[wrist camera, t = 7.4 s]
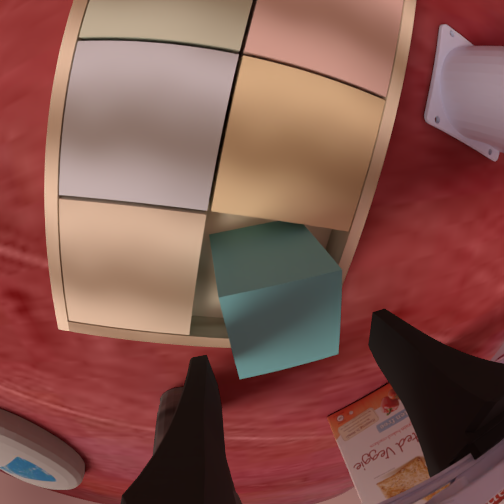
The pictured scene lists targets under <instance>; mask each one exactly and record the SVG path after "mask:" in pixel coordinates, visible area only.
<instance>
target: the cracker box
mask: <svg viewBox="0 0 504 504" xmlns="http://www.w3.org/2000/svg"><path fill="white" fill-rule="evenodd" d="M327 419H328V421H329V424H330V426H331V429H332V431H333V434H334V437H335V439H336V442H337V444H338V446H339V449H340V451H341V454H342V456H343V458H344V461H345V463H346V466H347V468H348V471H349V473H350V476H351V478H352V481H353V483H354V486H355V488H356V491H357V493H358V496H359V498H360V501H361V503H362V504H377V503H380V502H382V501H384V500H387V499H389V498H391V497H393V496H396V495H398V494H400V493H402V492H404V491H406V490H408V489H410V488H412V487H414V486H416V485H418V484H420V483H422V482H423V481H425V480H427V479H429V478H430V476H429V473H428V469H427V465H426V462H425V459H424V455H423V452H422V449H421V446H420V443H419V441H418V438H417V435H416V433H415V430H414V428H413V426H412V423H411V421H410V419H409V416H408V414H407V412H406V410H405V408H404V406H403V404H402V402H401V400H400V399H399V397H398V396H397V394H396V392H395V391H394V389H393V388H392V386H391V385H390V383H388V384H387V385H385V386H383V387H382V388H380V389H378V390H377V391H375V392H373V393H371V394H370V395H368V396H366V397H364V398H362V399H361V400H359V401H357V402H355V403H353V404H351V405H349V406H347V407H346V408H344V409H342V410H340V411H338V412H336V413H334V414H332V415H330V416H328V417H327ZM450 483H451V482H450ZM450 483H449V484H450ZM449 484H447V485H446V486H444V487H442V488H441V489H439V490H437V491H435V492H434V493H432V494H430V495H428V496H426V497H425V498H423V499H421V500H419V501H417V502H415V503H413V504H424V503H426V502H427V501H428V500H430V499H431V498H432V497H433V496H434V495H435V494H437V493H439V492H440V491H442V490H443V489H445V488H446V487H448V486H449ZM486 504H504V489H503V490H501V491H500V492H499V493H498V494H497V495H496V496H494V497H493V498H492V499H491V500H490V501H488V502H487V503H486Z"/></svg>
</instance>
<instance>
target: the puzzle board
mask: <svg viewBox="0 0 504 504" xmlns="http://www.w3.org/2000/svg"><path fill="white" fill-rule="evenodd" d="M415 7H416V0H74V1H73V4H72V7H71V11H70V14H69V17H68V21H67V24H66V28H65V32H64V36H63V39H62V44H61V48H60V52H59V57H58V61H57V66H56V71H55V77H54V82H53V89H52V95H51V102H50V110H49V118H48V128H47V139H46V154H45V188H44V194H45V228H46V243H47V255H48V265H49V273H50V281H51V289H52V295H53V302H54V308H55V313H56V319H57V324H58V329H60V330H66V331H72V332H78V333H84V334H90V335H97V336H104V337H111V338H119V339H127V340H136V341H145V342H154V343H165V344H176V345H189V346H204V347H222V348H231V345H230V341H229V337H228V333H227V330H226V326H225V322H224V318H223V314H222V310H221V306H220V302H219V297H218V291H217V285H216V278H215V272H214V265H213V258H212V251H211V245H210V237H209V234H214V233H219V232H224V231H229V230H233V229H238V228H243V227H248V226H253V225H259V224H264V223H269V222H274V221H284V222H291V223H297V224H304V225H305V227H306V228H307V229H308V230H309V231H310V232H311V233H312V235H313V236H314V237H315V238H316V239H317V240H318V242H319V243H320V244H321V245H322V246H323V247H324V249H325V250H326V251H327V252H328V253H329V254H330V256H331V257H332V258H333V259H334V260H335V262H336V263H337V264H338V265H339V266H340V268H341V269H342V285H343V283H344V280H345V277H346V275H347V272H348V269H349V267H350V264H351V261H352V259H353V256H354V253H355V250H356V247H357V245H358V242H359V239H360V236H361V233H362V230H363V227H364V224H365V221H366V218H367V215H368V212H369V209H370V206H371V203H372V200H373V196H374V193H375V190H376V187H377V183H378V180H379V177H380V173H381V170H382V166H383V163H384V159H385V155H386V152H387V148H388V144H389V140H390V137H391V133H392V129H393V125H394V121H395V116H396V112H397V108H398V104H399V99H400V94H401V90H402V85H403V80H404V75H405V70H406V65H407V59H408V54H409V48H410V42H411V36H412V29H413V22H414V15H415Z"/></svg>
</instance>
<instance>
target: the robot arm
mask: <svg viewBox="0 0 504 504" xmlns="http://www.w3.org/2000/svg"><path fill="white" fill-rule="evenodd" d="M450 34H451V35H450ZM435 117H436V122H435ZM424 119H425V121H426V122H427V123H428V124H430V125H432V126H434V127H436V128H438V129H439V130H441V131H443V132H445V133H447V134H449V135H450V136H452V137H454V138H456V139H458V140H459V141H461V142H463V143H464V144H466V145H468V146H470V147H471V148H473V149H474V150H476V151H478V152H479V153H481V154H483V155H484V156H486V157H487V158H489V159H490V160H492V161H497V159H498V157H499V152H503V153H504V46H474V45H473V44H471V43H470V42H469V41H468V40H466V39H465V38H464V37H463V36H461V35H460V34H459V33H457V32H456V31H455V30H453V29H452V28H451V27H449V26H448V25H446V24H442V25H440V27H439V34H438V42H437V49H436V56H435V62H434V68H433V74H432V79H431V85H430V90H429V95H428V99H427V104H426V109H425V113H424ZM368 345H369V348H370V350H371V352H372V354H373V356H374V358H375V360H376V362H377V364H378V366H379V367H380V369H381V371H382V372H383V374H384V375H385V377H386V378H387V380H388V382H389V383H390V385H391V386H392V388H393V389H394V391H395V392H396V394H397V396H398V397H399V399H400V400H401V402H402V404H403V406H404V408H405V410H406V412H407V414H408V416H409V419H410V421H411V423H412V426H413V428H414V430H415V433H416V435H417V438H418V441H419V443H420V446H421V449H422V452H423V455H424V459H425V462H426V465H427V469H428V473H429V476H430V478H429V479H427V480H425V481H423V482H422V483H420V484H418V485H416V486H414V487H412V488H410V489H408V490H406V491H404V492H402V493H400V494H398V495H396V496H393V497H391V498H389V499H387V500H384V501H382V502H380V503H377V504H413V503H415V502H417V501H419V500H421V499H423V498H425V497H426V496H428V495H430V494H432V493H434V492H435V491H437V490H439V489H441V488H442V487H444V486H446V485H447V484H449V483H450V482H451V483H450V484H449V486H448V487H446V488H445V489H443V490H442V491H440V492H439V493H437V494H435V495H434V496H433V497H432V498H431V499H430V500H428V501H427V502H426V503H424V504H486V503H487V502H488V501H490V500H491V499H492V498H493V497H494V496H496V495H497V494H498V493H499V492H500V491H501V490H503V489H504V364H503V363H497V362H493V361H489V360H485V359H481V358H478V357H475V356H472V355H469V354H466V353H463V352H461V351H458V350H456V349H454V348H451V347H449V346H447V345H445V344H443V343H441V342H439V341H437V340H435V339H433V338H431V337H430V336H428V335H426V334H424V333H423V332H421V331H419V330H418V329H416V328H415V327H413V326H411V325H410V324H408V323H407V322H405V321H403V320H402V319H400V318H399V317H397V316H396V315H394V314H392V313H391V312H389V311H388V310H386V309H382V310H379V311H376V312H373V314H372V322H371V330H370V337H369V344H368ZM121 504H236V501H235V497H234V493H233V489H232V484H231V480H230V475H229V471H228V466H227V461H226V454H225V443H224V431H223V417H222V405H221V400H220V394H219V389H218V384H217V382H216V379H215V376H214V374H213V371H212V368H211V366H210V363H209V360H208V357H207V355H203V356H198V357H193V358H191V360H190V364H189V368H188V373H187V377H186V380H185V384H184V387H183V390H182V393H181V396H180V399H179V402H178V405H177V408H176V410H175V413H174V415H173V418H172V420H171V422H170V425H169V427H168V429H167V431H166V433H165V435H164V437H163V439H162V441H161V442H160V444H159V446H158V448H157V450H156V451H155V453H154V455H153V456H152V458H151V459H150V461H149V462H148V464H147V465H146V466H145V468H144V469H143V471H142V472H141V473H140V475H139V476H138V477H137V479H136V480H135V481H134V482H133V483H132V485H131V486H130V487H129V488H128V489H127V490H126V491H125V493H124V494H123V495H122V499H121Z"/></svg>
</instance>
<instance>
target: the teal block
mask: <svg viewBox="0 0 504 504" xmlns="http://www.w3.org/2000/svg"><path fill="white" fill-rule="evenodd" d="M209 237H210V245H211V251H212V258H213V265H214V272H215V278H216V285H217V291H218V297H219V302H220V306H221V310H222V314H223V318H224V322H225V326H226V330H227V333H228V337H229V341H230V345H231V349H232V353H233V356H234V360H235V364H236V368H237V371H238V375H239V379H244V378H249V377H253V376H258V375H262V374H266V373H271V372H275V371H279V370H283V369H287V368H291V367H295V366H298V365H302V364H306V363H309V362H313V361H316V360H320V359H323V358H327V357H330V356H333V355H337V354H338V351H339V337H340V320H341V297H342V269H341V268H340V266H339V265H338V264H337V263H336V262H335V260H334V259H333V258H332V257H331V256H330V254H329V253H328V252H327V251H326V250H325V249H324V247H323V246H322V245H321V244H320V243H319V242H318V240H317V239H316V238H315V237H314V236H313V235H312V233H311V232H310V231H309V230H308V229H307V228H306V227H305V225H304V224H297V223H291V222H284V221H274V222H269V223H264V224H259V225H253V226H248V227H243V228H238V229H233V230H229V231H224V232H219V233H214V234H209Z"/></svg>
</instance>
